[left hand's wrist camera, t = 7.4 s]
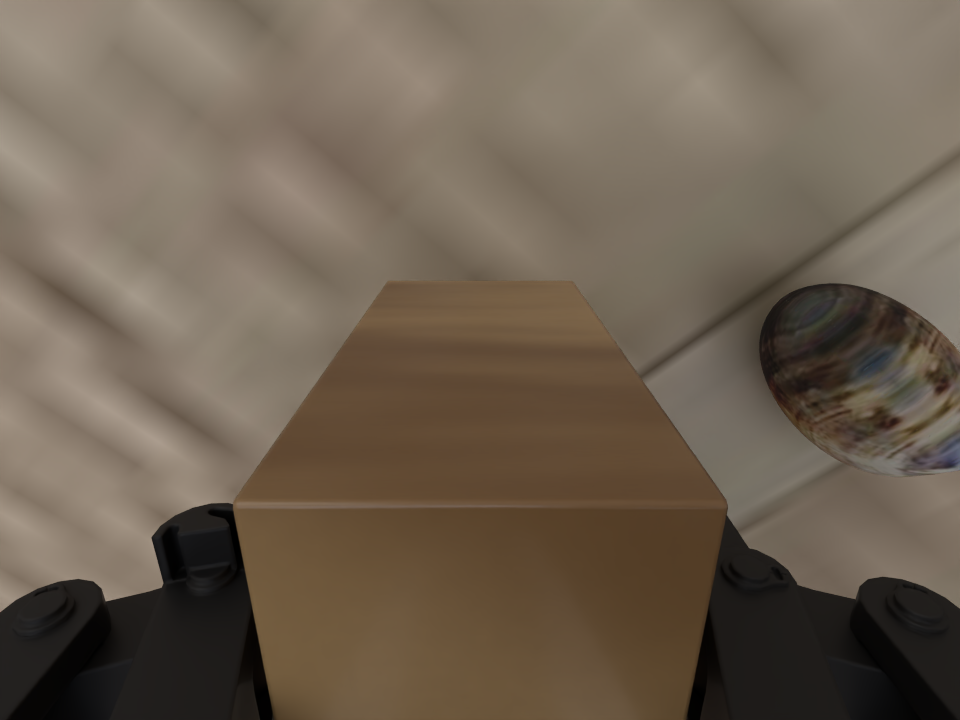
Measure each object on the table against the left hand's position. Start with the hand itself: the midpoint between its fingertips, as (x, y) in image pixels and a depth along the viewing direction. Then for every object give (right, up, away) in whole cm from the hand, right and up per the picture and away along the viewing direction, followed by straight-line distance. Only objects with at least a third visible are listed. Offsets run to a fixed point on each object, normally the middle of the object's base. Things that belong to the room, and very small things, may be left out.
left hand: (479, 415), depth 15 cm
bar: (0, -8, +4) cm, 9 cm away
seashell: (+15, +2, +10) cm, 18 cm away
